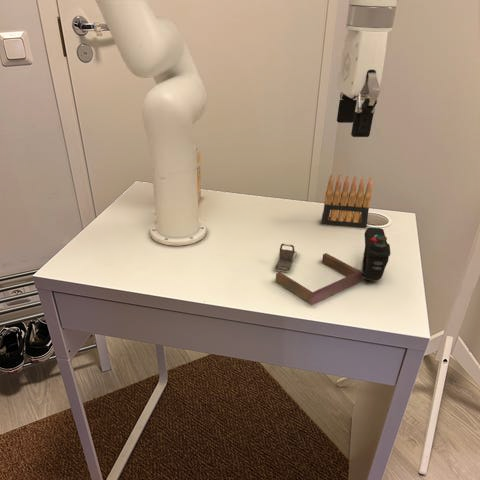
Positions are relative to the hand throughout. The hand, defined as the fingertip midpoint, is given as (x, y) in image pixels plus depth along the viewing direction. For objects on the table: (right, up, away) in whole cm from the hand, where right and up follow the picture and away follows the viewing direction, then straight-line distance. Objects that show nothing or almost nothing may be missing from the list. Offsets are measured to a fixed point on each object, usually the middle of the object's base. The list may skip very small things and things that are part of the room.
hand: (352, 129), depth 87 cm
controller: (+6, -26, +8) cm, 28 cm away
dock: (-6, -28, +6) cm, 29 cm away
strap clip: (-11, -23, +12) cm, 28 cm away
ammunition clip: (+4, -12, +27) cm, 30 cm away
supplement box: (-34, -5, +36) cm, 50 cm away
